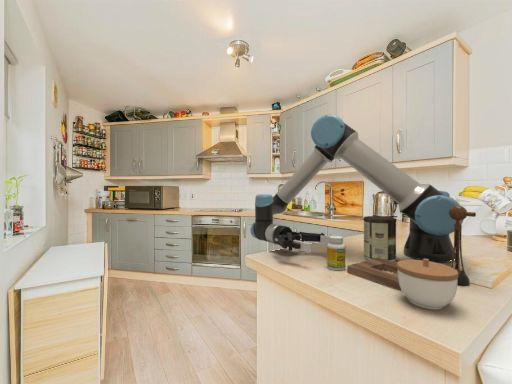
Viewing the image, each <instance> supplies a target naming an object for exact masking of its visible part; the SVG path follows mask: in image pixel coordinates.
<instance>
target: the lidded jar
mask: <svg viewBox="0 0 512 384" xmlns="http://www.w3.org/2000/svg"><path fill="white" fill-rule="evenodd" d="M397 275H398V282H399V286H400V288H401V290H402V293H403V295H404V296H405V297H406V298H407V299H408V301H409V302H410V303H411V304H413V305H415V306H417V307H419V308H423V309H426V310H433V311H437V310H443V308H444V307H445V306H447V305H449V304H450V303H452V302H453V301H454V298H455V296H456V294H457V291H458V286H457V283H458V271H457V270H456V269H455V267H453V268H452V267H451V266H450V265H446V264H443V263H441V262H433V261H429V259H423V260H420V259H402V260H399V261H398V262H397Z"/></svg>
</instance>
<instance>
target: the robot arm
mask: <svg viewBox="0 0 512 384" xmlns="http://www.w3.org/2000/svg"><path fill="white" fill-rule="evenodd" d="M310 137H311V140H312V141H313V144H315V146H314V147H313V151H312V152H311V154H310V155H309V156H307V158H306V159H305V160H304V162H303V163H302V164H301V165H300V166H299V167H298V168H297V169H296V171H295V172H294V173H293V174H292V175H291V176H290V177H289V178H288V180H286V182H285V183H284V184H283V185H282V186H281V187H280V189H278V191H277V192H276V194H274V195H273V194H268V193H267V194H264V193H263V194H256V195H255V198H254V207H255V208H254V210H255V211H254V214H255V215H254V217H255V220H254V222H253V223H252V224H251V227H250V229H249V230H250V234H251V236H252V237H253V238H255V239H257V240H259V241H264V242H266V243H267V242H268V243H271V244H273V245H274V246H275V245H278V246H280V247H281V248H282V249H283V250H288V251H293V249H294V250H298V251H301V252H305V253H308V254H309V253H311V242H312V243H315V242H317V243H320V244H324V245H328V243H330V241H329V237H330V236H328V235H325V233H324V232H321V233H316V232H305V231H299V232H298V231H293V230H292V228H291V227H289V226H286V225H281V224H275V223H274V215H279V214H280V215H281V214H283V212H286V210H287V208H288V206H289V204H291V202H292V201H293V200H294V199H295V198H296V197H297V195H298V194H300V193H301V191H302V190H304V188H305V187H306V186H307V185H308V184H309V183H310V182H311V181H312V180H313V178H315V176H316V175H317V174H319V172H320V171H321V170H322V169H323V168H324V167H325V166H326V165H327V164H328V163H332V162H333V161H334V160H338V159H341V160H343V161H344V162H345V163H346V164H348V165H349V166H350V167H352V168H353V169H354V170H356V172H358V173H359V174H360V175H362V176H363V177H365V178H366V179H367V180H368V181H369V182H370V183H372V184H373V185H374V186H376V187H377V188H378V189H379V190H381V191H382V192H383V193H385V194H386V195H387V196H388V197H390V198H391V199H392V200H394V201H395V202H396V203H397V204H398V206H399V211H400V212H401V213H402V214H404V215H405V216H406V217H407V218H408V219H409V233H408V236H407V239H406V240H405V244H404V247H403V254H404V255H405V256H407V257H409V258H412V259H415V260H423V259H429V261H430V262H436V263H448V262H447V261H450V260H453V251H454V244H453V243H452V240H451V237H450V234H452V233H453V234H454V224H456V220H454V219H452V218H451V217H450V216H449V210H450V208H451V207H453V206H457V205H458V206H461V204H460V203H459V202H458V201H457V200H455V199H454V197H451V196H450V193H449V192H448V191H443V190H438V189H437V188H436V187H434V186H433V185H432V184H430V183H419V182H418V181H417V180H416V179H414V178H412V177H411V176H410V175H409V174H407V173H406V172H405V171H403V169H400V168H399V167H397V166H396V165H394V163H392V162H391V161H389V160H388V159H387V158H385V157H384V156H382V155H381V154H380V153H378V152H377V151H375V149H373V148H372V147H370V146H369V145H368V144H366V143H365V142H363V141H362V140H361V139H359V133H358V131H356V130H355V129H354V128H352V127H351V126H349V125H348V124H347V123H345V122H344V120H343V119H342V118H341V117H340V116H338V115H335V114H330V113H329V114H325V115H322V116H321V117H319V118H317V119H316V120H315V122H314V123H313V124H312V127H311V131H310ZM463 222H464V220H460V224H461V225H463ZM309 242H310V243H309ZM454 259H455V258H454Z"/></svg>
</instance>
